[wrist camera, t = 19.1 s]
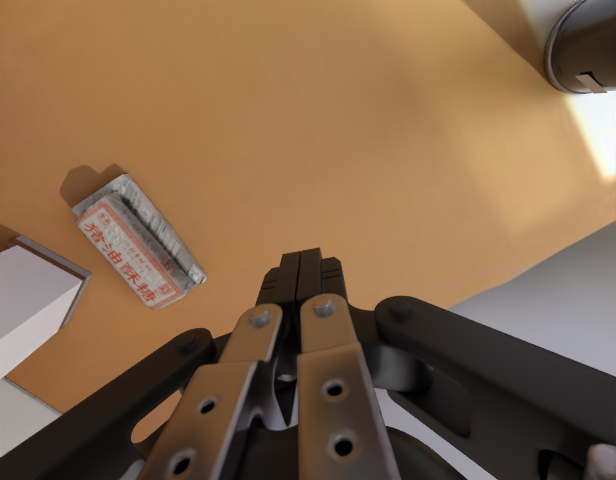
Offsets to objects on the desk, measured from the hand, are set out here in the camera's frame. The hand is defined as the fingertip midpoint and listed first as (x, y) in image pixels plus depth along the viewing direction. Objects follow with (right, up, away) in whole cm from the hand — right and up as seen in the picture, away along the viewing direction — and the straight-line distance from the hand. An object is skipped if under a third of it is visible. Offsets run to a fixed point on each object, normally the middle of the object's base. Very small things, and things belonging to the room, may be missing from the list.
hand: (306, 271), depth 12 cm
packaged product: (-23, +1, +32) cm, 40 cm away
